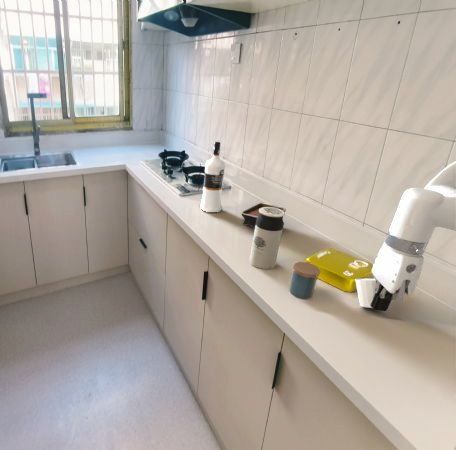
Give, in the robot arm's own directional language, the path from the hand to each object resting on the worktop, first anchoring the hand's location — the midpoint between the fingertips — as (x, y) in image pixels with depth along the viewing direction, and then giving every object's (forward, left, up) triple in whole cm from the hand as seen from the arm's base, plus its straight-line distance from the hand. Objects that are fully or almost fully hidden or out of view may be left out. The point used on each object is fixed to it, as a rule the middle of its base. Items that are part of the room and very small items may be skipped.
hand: (378, 308), depth 84 cm
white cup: (-1, -3, -2) cm, 4 cm away
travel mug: (+24, -24, -3) cm, 34 cm away
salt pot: (+16, -9, -3) cm, 18 cm away
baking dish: (+19, -54, -3) cm, 57 cm away
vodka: (+39, -69, -3) cm, 79 cm away
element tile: (+2, -21, -3) cm, 21 cm away
